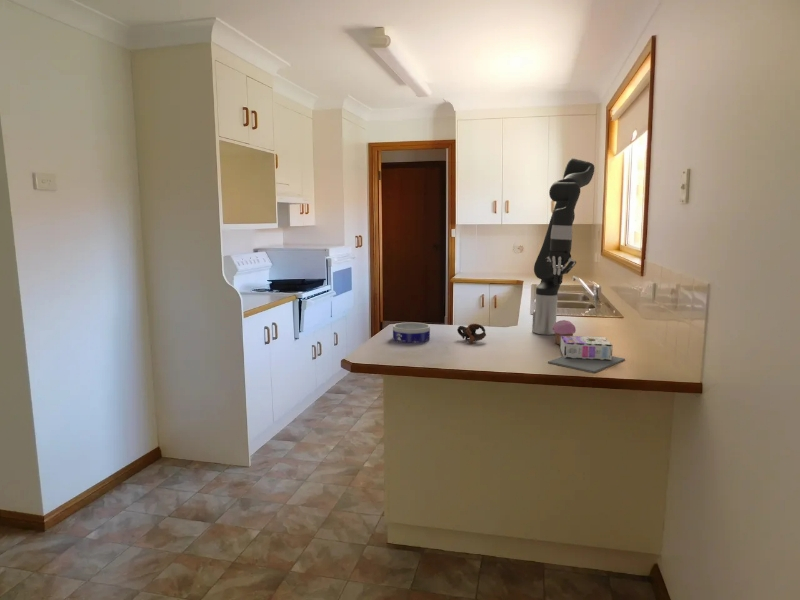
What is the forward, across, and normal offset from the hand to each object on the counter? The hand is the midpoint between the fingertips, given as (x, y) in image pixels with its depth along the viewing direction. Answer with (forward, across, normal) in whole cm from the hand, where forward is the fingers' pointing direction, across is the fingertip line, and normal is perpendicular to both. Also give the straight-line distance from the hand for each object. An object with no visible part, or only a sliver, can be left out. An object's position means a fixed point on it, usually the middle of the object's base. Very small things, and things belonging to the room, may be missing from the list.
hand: (557, 284), depth 204 cm
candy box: (+22, +5, -2) cm, 23 cm away
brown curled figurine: (+27, -32, -9) cm, 43 cm away
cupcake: (+26, -4, +14) cm, 30 cm away
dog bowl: (+28, -50, -26) cm, 63 cm away
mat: (+25, +16, -3) cm, 30 cm away
